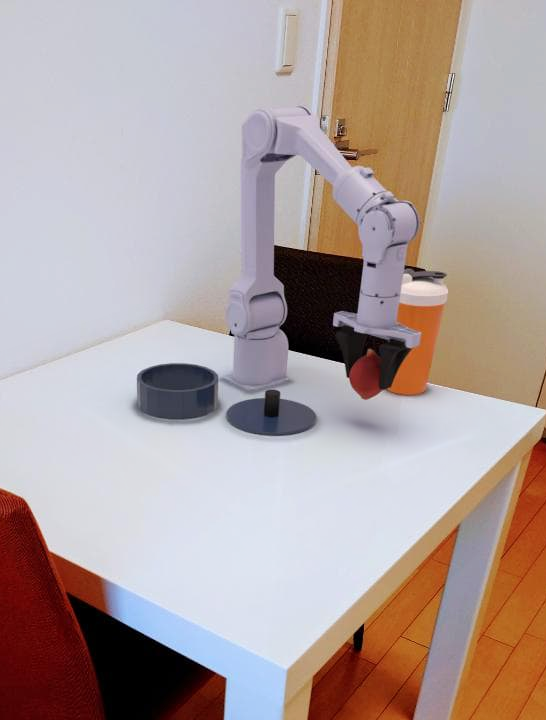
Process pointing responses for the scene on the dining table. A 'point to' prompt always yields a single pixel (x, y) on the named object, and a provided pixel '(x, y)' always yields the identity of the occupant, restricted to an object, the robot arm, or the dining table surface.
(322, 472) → the dining table surface
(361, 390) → the onion
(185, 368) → the pot
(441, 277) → the shaker bottle
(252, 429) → the lid
